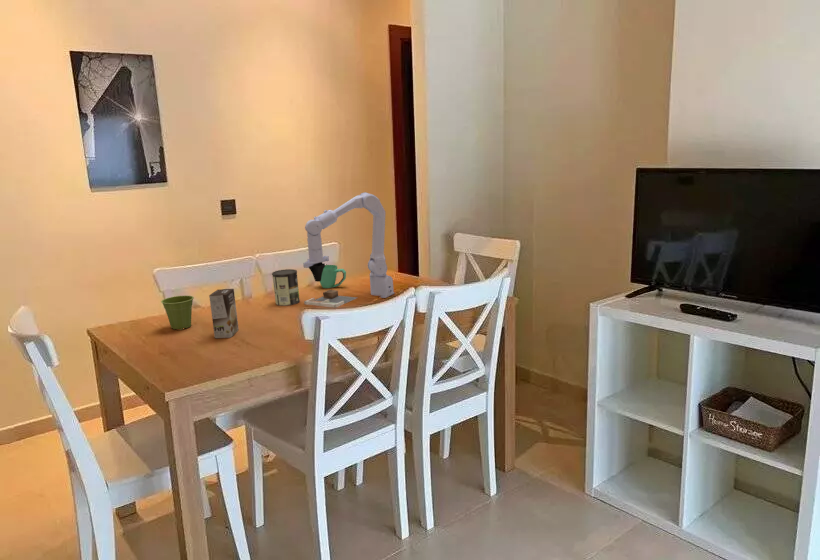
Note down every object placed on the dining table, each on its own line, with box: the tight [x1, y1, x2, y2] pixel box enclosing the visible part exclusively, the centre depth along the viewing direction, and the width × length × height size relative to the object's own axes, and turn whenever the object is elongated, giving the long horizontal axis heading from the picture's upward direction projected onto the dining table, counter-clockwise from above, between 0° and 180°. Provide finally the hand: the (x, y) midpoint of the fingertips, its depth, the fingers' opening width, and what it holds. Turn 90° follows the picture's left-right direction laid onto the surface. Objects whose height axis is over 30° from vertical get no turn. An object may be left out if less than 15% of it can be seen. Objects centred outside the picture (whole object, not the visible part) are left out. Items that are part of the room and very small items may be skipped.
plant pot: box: [160, 295, 195, 330], centre depth 244 cm, size 12×12×11 cm
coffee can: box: [271, 268, 301, 307], centre depth 268 cm, size 10×10×14 cm
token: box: [322, 289, 339, 299], centre depth 274 cm, size 4×4×2 cm
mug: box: [319, 264, 347, 289], centre depth 291 cm, size 15×10×10 cm
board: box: [303, 295, 358, 309], centre depth 268 cm, size 16×16×2 cm
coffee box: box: [208, 288, 239, 339], centre depth 232 cm, size 9×6×16 cm
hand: (318, 281), depth 266 cm, fingers closed
